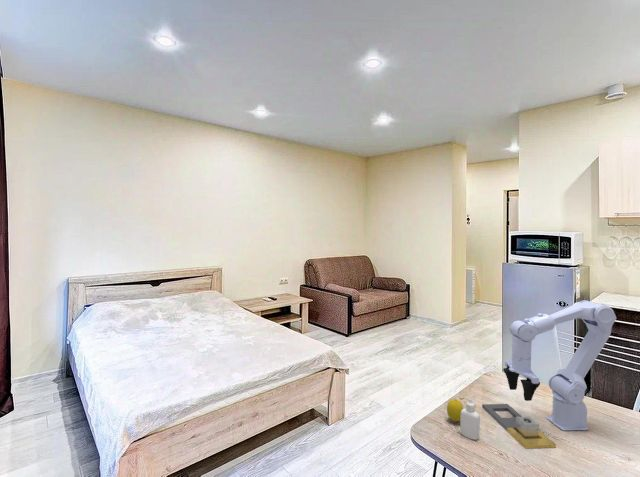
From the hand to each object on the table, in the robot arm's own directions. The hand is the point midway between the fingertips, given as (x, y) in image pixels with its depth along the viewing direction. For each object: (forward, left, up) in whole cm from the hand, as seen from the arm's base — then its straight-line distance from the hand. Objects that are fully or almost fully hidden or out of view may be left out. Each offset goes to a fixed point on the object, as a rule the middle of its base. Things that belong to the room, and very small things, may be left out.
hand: (520, 394), depth 117 cm
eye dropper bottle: (+22, +7, -10) cm, 25 cm away
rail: (+3, +2, -10) cm, 10 cm away
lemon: (+23, -1, -10) cm, 25 cm away
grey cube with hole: (+3, +8, -10) cm, 13 cm away
